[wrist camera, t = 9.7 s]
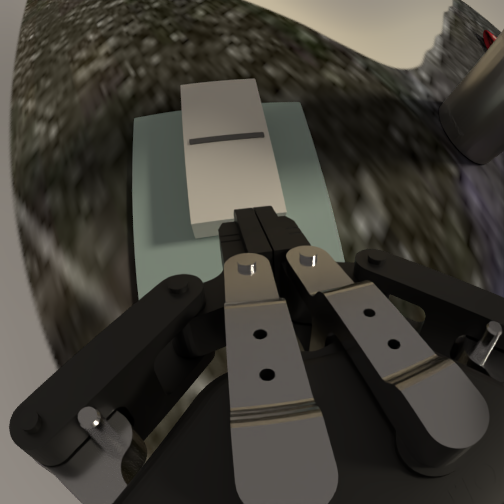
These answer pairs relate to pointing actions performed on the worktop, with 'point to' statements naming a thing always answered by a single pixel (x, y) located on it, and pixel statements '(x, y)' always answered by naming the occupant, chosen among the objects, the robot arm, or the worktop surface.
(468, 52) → the worktop surface
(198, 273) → the mat
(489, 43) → the dish drying mat
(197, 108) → the domino
